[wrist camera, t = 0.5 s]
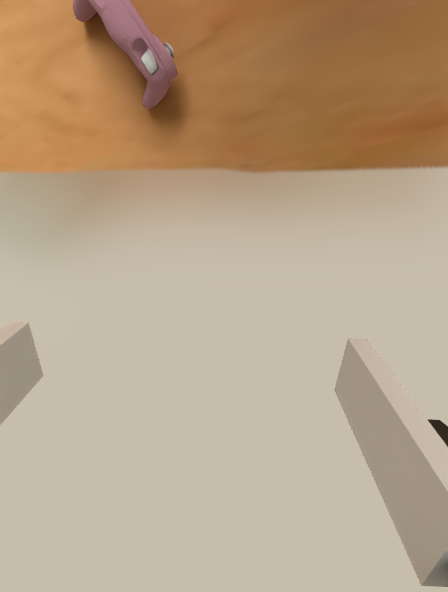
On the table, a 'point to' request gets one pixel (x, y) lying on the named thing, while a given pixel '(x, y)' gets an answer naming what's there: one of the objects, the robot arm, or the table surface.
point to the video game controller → (134, 43)
